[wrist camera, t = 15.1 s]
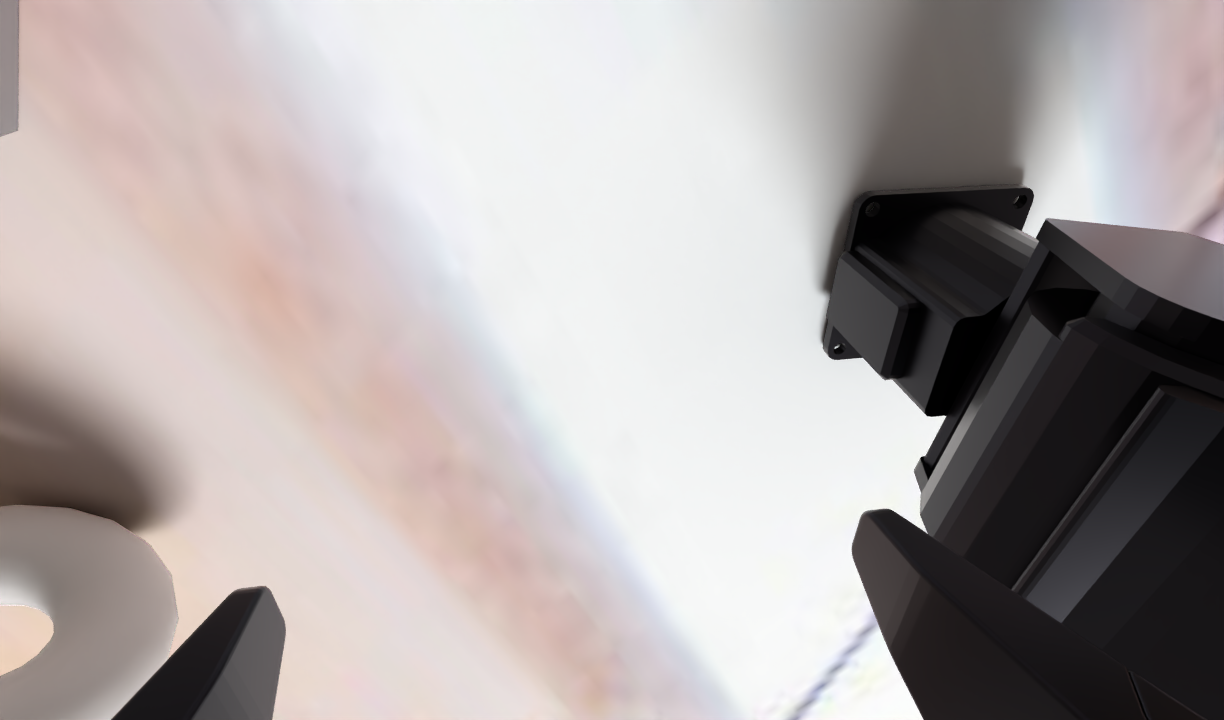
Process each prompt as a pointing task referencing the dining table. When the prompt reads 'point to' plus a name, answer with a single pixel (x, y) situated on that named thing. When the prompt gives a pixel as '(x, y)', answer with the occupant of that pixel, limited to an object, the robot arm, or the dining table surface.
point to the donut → (83, 612)
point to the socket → (8, 66)
